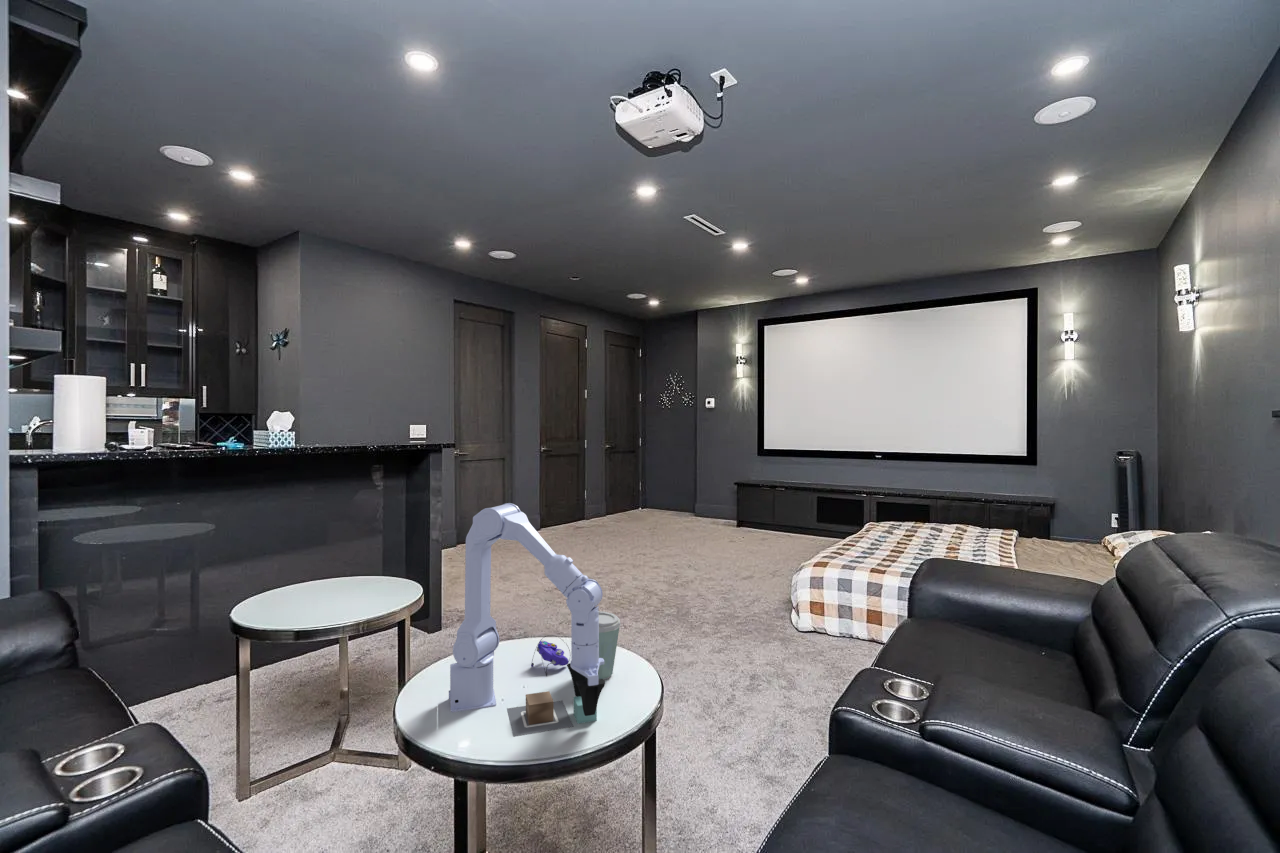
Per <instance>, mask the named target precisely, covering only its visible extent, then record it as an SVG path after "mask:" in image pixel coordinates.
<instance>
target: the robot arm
mask: <svg viewBox="0 0 1280 853" xmlns="http://www.w3.org/2000/svg"><path fill="white" fill-rule="evenodd" d="M499 539H500V540H505V541H507V540H508V541H509V540H510V541H517V542H518V543H519V544H520V545H521V546H523V548H525V549H526V550H527V551H528V552H529V553H530V554H531V555H532V556H533V557H534V558H535V559H536V560H538V562H540V563H541V565H542V566H543V567H544V569H543V571H544V575H545V577H546V578H547V579H548V580H549V581H550V582H551V584H553V585H554V586H555V587H556V589H557V590H558V591H560V593H561V594H562V595H563V596H564V597H565V603H566V606H567V609H568V610H569V612H570V615H571V619H570V621H571V623H570V624H571V626H570V627H571V628H570V629H571V633H570V634H571V638H570V639H571V641H570V642H571V643H570V644H571V645H570V646H571V647H570V648H571V649H570V662H568V664H567V665H566V667H567V668H568V669H567V670H569V674H570V677H571V680H572V685H573V689H574V690H573V691H574V695H575V696H574V697H579V696H581V699H582V706H583V711H584V715H585V716H589V715H595V712H596V708H598V703H599V698H600V697H601V696H600V695H601V692H602V691H603V689H604V687H605V685H606V681H605V680H603V679H599V680H598V671H599V666H600V665H603V664H604V659H603V658H599V611H600V610H599V604H600V603H601V601H602V600H603V589H602V587H601V585H600V584H599V582H598V581H597V580H595V579H593V578H589V576H588V575H587V574H583V573H582V571H580V569H579V568H577V566H576V565H575V564H574V563H573V562H574V560H573V559H572V558H571V557H570V556H568V557H567V556H566V555H565V554H558V553H556V552H555V551H554V550H553V549H552V548H551V546H550V545H549V544H548V543H547V541H545V539H544V538H543V537H542V536H541V534H539V532H538V531H537V529H536V528H535V527H534V526H533V525H532V524H531V522H530V521H529V519H528V516H527V514H526V513H524V512H523V511H521V509H520V508H519V506H518V505H516V504H514V503H511V502H508V503H507V502H506V503H503V504H501V505H497V506H493V507H486V508H483V509H482V510H480V511H479V512H478V513H476V514H475V515H473V517H472V525H471V526H470V528H469V531H468V533H467V534H466V537H465V556H464V558H465V562H464V563H465V565H464V566H465V568H464V569H465V572H464V573H465V574H464V575H465V578H464V619H463V621H462V622H461V624H460V625H459V628H458V629H457V631H456V639H455V642H454V644H453V646H452V654H453V658H454V660H455V662H454V663H451V664H450V665H449V666H450V667H449V669H450V671H449V674H450V675H449V679H450V680H449V681H450V682H449V690H448V700H450V703H449V704H450V713H457V712H464V711H471V710H472V711H473V710H478V709H486V708H493V707H496V706H497V699H496V694H495V690H494V656H495V651H496V650H497V648H498V647H499V644H500V636H499V632H498V630H497V621H496V619H494V617H492V616H491V592H492V590H491V588H492V586H491V585H492V584H491V582H492V581H491V580H492V579H491V577H492V545H493V544H495V543H496V542H497V541H499Z"/></svg>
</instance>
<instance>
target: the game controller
mask: <svg viewBox="0 0 1280 853" xmlns="http://www.w3.org/2000/svg"><path fill="white" fill-rule="evenodd" d="M549 636H550V637H551V636H553V637H556V638H557V637H558V638H559V639H560V640H561V641H563V639H562V638H561V637H559V636H557V635H553V634H549V635H545V636H543V637H542V638H541V639H540V640H539V642H538V643H537V646H536V648H535V650H534V653H533V656H532V660H531V665H530V666H531V668H533V667H534V662H533V659H534V657H535V653H536V652H538V654H539V655H540V656H541V659H542V660H541V661H542V663H544V662H543V660H544V661H546V662H548V664H547V665H546V667H545V666H544V664H542V665H543V668H544V673H545V675H546V677H548V666H549V665H552V666H558V665H559V666H562V667H563V666H567V664H569V663H570V661H571V658H569V659H568V658H567V657H566V656H565V655H564V654H565V651H564V650H563V649H561V648H558V645H557V644H556V643H551V642H548V641H546V640H543V639H544V638H545V637H549ZM565 644H566V646H567V648H568V651H569V652H571V649H570V648H569V646H568V644H567V643H565ZM549 662H550V663H549ZM545 668H546V669H545Z"/></svg>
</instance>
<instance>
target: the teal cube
mask: <svg viewBox="0 0 1280 853" xmlns="http://www.w3.org/2000/svg"><path fill="white" fill-rule="evenodd" d="M597 708H598V707H597ZM597 708H596V712H595V715H589V716H585V715H584V711H583V706H582V699H581V696H579V697H576V696H574V697H573V717H574V719H575V720H576V723H577V724H583V723H590V722H595V721H597V720H598V718H597V717H598V714H597V712H598V711H597Z"/></svg>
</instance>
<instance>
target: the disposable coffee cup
mask: <svg viewBox="0 0 1280 853" xmlns="http://www.w3.org/2000/svg"><path fill="white" fill-rule="evenodd" d="M620 628H621V619H620V618H619V616H617V615H616V614H614V613H612V612H608V611H600V610H599V658H603V659H604V664H603V665H600V666H599V671H598V680H599V679H603V680H604V681H605V680H608V679H609V678H611V677H612V675H613V674H614V673H613V672H614V666H615V659H616V653H617V645H618V640H619V632H620Z"/></svg>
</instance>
